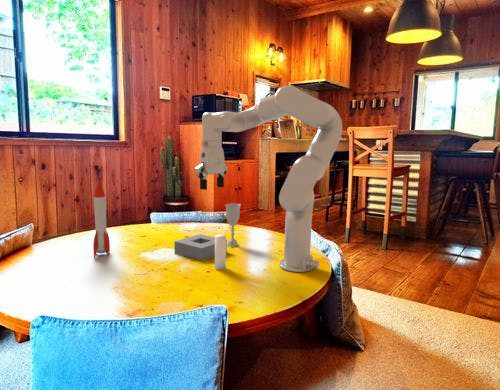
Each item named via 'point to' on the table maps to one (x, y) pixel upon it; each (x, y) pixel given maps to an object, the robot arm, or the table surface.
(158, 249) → the table surface
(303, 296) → the table surface
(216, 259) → the peg
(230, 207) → the chalice
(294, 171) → the robot arm
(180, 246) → the socket block
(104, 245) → the toy rocket
